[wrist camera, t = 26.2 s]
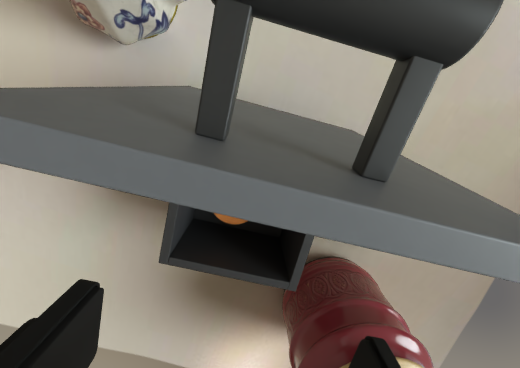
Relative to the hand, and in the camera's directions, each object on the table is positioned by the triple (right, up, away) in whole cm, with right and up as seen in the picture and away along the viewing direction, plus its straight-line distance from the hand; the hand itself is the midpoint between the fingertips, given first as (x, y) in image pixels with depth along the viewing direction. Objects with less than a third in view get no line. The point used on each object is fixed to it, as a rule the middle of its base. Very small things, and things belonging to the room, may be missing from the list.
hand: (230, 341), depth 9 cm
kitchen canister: (+10, -10, +26) cm, 30 cm away
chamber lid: (+2, +8, +3) cm, 8 cm away
